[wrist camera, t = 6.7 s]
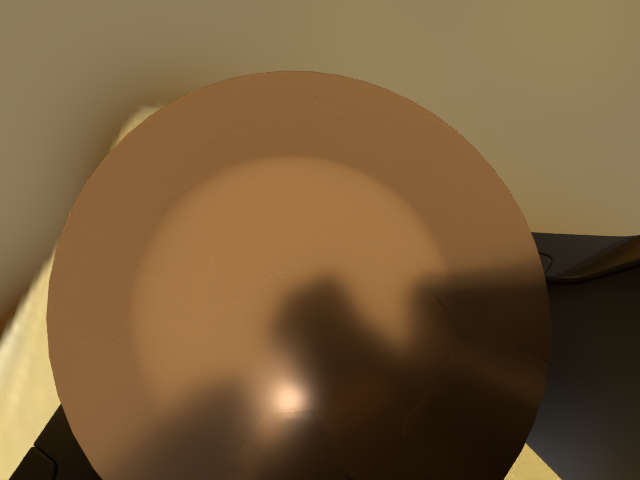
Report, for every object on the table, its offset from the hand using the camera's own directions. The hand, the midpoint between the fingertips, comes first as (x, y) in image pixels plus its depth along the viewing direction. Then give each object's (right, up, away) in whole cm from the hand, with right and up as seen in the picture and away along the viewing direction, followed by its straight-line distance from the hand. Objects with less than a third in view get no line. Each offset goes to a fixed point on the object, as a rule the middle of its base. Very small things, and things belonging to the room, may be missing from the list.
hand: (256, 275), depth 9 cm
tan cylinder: (-1, -3, +6) cm, 7 cm away
